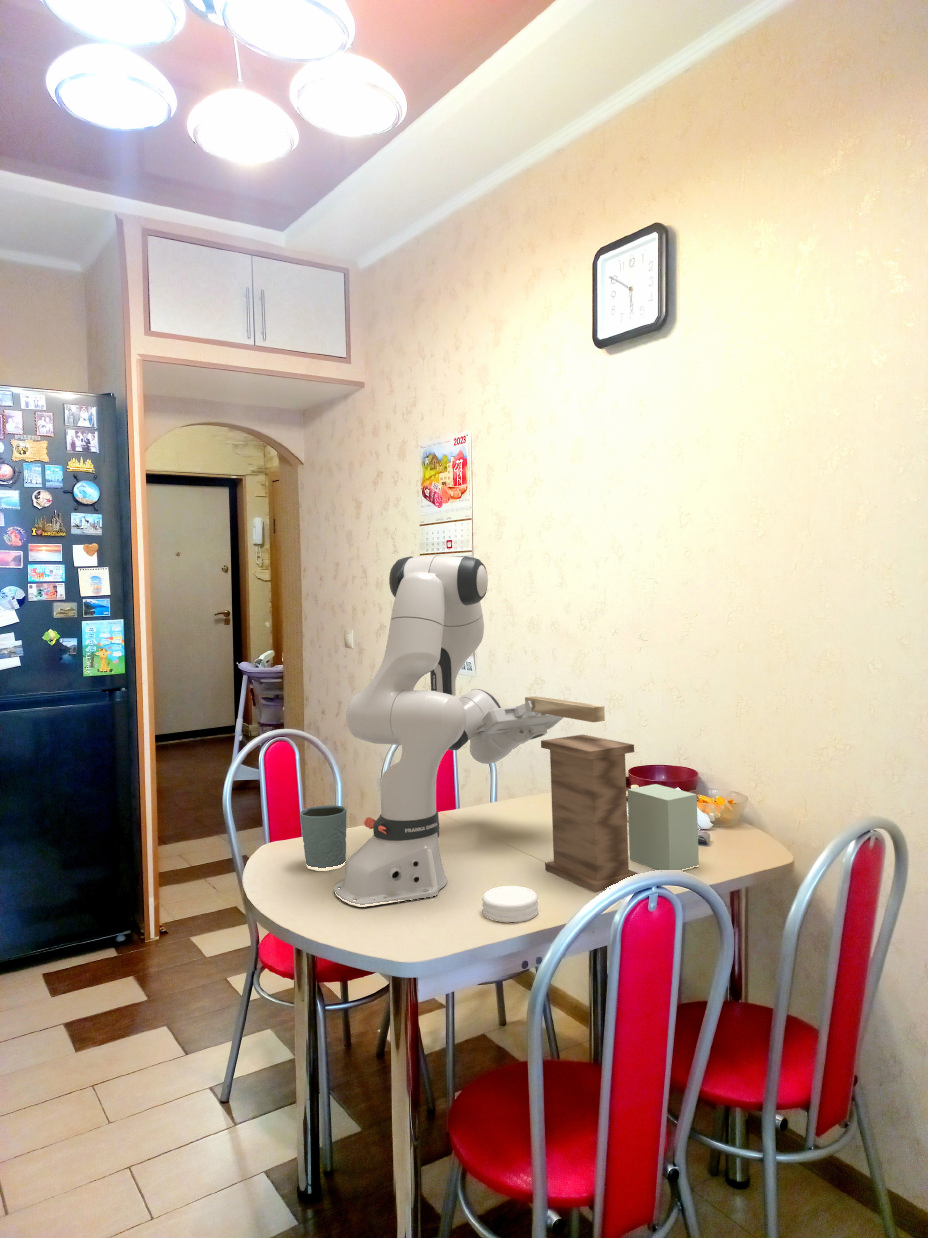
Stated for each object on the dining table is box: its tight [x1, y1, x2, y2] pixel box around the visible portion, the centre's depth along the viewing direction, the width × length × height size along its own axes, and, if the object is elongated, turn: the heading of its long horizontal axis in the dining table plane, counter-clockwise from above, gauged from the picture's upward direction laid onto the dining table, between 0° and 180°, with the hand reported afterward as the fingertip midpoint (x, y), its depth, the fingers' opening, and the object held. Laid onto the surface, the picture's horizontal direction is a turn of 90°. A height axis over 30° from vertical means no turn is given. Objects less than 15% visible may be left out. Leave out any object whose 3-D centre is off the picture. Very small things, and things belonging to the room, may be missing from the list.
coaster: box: [481, 885, 539, 924], centre depth 149 cm, size 10×10×4 cm
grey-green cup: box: [299, 804, 348, 868], centre depth 180 cm, size 10×10×12 cm
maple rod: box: [524, 695, 606, 723], centre depth 178 cm, size 3×24×3 cm, turn 30°
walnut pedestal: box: [540, 734, 639, 893], centre depth 167 cm, size 11×16×27 cm
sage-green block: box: [627, 783, 700, 872], centre depth 173 cm, size 8×12×15 cm, turn 30°
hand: (540, 702), depth 185 cm, fingers closed on maple rod, 3 cm apart
